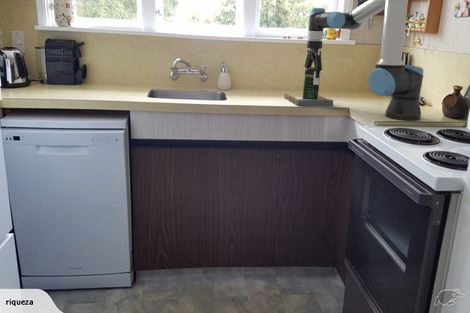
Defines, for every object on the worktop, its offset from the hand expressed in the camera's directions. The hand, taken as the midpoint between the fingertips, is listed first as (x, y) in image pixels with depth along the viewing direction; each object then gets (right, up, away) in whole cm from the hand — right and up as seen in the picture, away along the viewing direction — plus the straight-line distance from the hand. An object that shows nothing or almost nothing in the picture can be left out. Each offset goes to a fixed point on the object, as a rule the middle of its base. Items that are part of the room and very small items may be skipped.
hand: (311, 83), depth 220 cm
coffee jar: (0, -10, +3) cm, 11 cm away
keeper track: (-1, -8, +8) cm, 12 cm away
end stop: (+1, -12, -4) cm, 13 cm away
